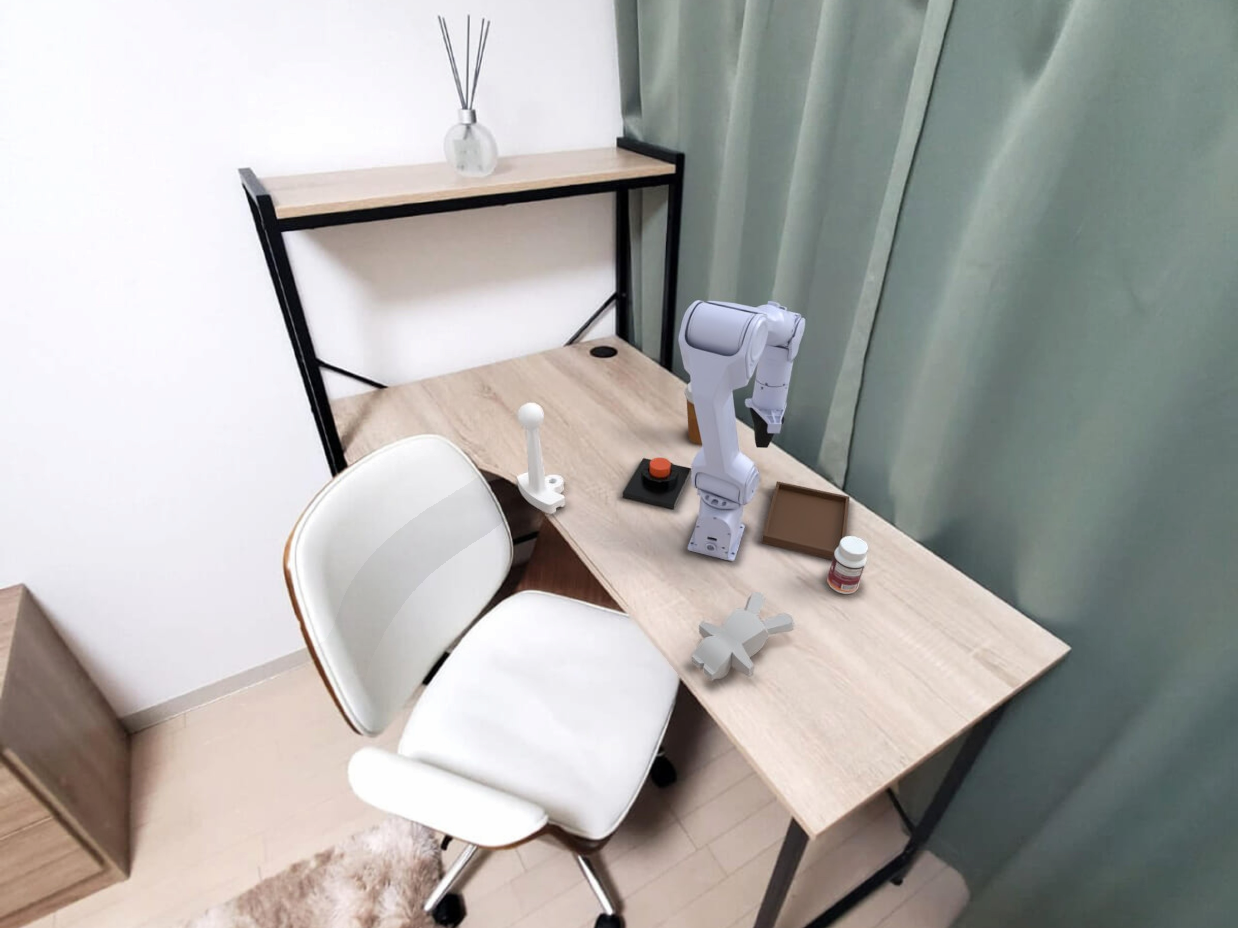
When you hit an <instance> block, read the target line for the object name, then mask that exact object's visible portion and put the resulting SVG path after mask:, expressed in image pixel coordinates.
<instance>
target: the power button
mask: <svg viewBox="0 0 1238 928" xmlns="http://www.w3.org/2000/svg"><path fill="white" fill-rule="evenodd" d="M650 460H651V461H650V468H649V472H650V474H651V475H652V476H654V477H659V478H661V477H667V476H668V475H669V474H670V469H671V463H672V462H671V461H670V459H668V458H666V457H654V458H652V459H650ZM670 462H671V463H670Z"/></svg>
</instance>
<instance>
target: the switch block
mask: <svg viewBox="0 0 1238 928" xmlns="http://www.w3.org/2000/svg"><path fill="white" fill-rule="evenodd" d="M651 460H652V459H650V458H646V457H643V458H642V459H641V461H640V462H639V464H638V466H637V467H636V469H635V471H634V473H633V475H632V476H631V478H630V479H629V481H628V482H627V484H626V486H625V487H624V489H623V490H622V499H626V500H630V501H635V502H639V503H642V504H648V505H652V506H655V507H660V508H664V509H668V510H671V511H672V510H673V511H675V509H676V507H677V505H678V502H679V501H680V498H681V496H682V494H683V492H684V489H685V488H686V485H687V483H688V481H689V478H691V473H692V467H688V466H683V465H678V464H674V463H672V462H671V461H670V463H671V469H670V474H669V475H668V476H667V477H661V478H659V477H654V476H652V475H651V474H650V472H649V468H650V461H651Z"/></svg>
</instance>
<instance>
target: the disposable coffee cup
mask: <svg viewBox="0 0 1238 928" xmlns="http://www.w3.org/2000/svg"><path fill="white" fill-rule="evenodd" d="M683 392H684V396H685V399H686V413H687V430H688V431H687V432H688V439H689V440H690V441H691V442H693V443H694V444H698V445H702V441H701V436H700V431H699V426H698V422H697V417H696V412H695V407H694V403H693V398H692V392H691V381H690V382H688V384H687V385H686V387H685V389H684V391H683Z"/></svg>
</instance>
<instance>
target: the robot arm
mask: <svg viewBox="0 0 1238 928" xmlns="http://www.w3.org/2000/svg"><path fill="white" fill-rule="evenodd" d="M805 328H806V318H804V317H802V314H801V313H798V312H793V311H789V310H788V307H787V306H782V305H781V304H780V303H779V302H776V301H771V300H768V301H767V304H762V305H758V306H757V307H754V306H750V305H745V304H740V303H736V302H728V301H720V300H719V301H718V300H707V301H706V302H705V301H704V300H700V299H698V300H695V301H694V302H692V303H691V305H689V306H688V307H687V309H686V311H685V312H684V315H683V317H682V321H681V325H680V329H679V333H678V345H679V350H680V354H681V359H682V364H683V369H684V370H685V371H686V373H687V374H688V375H689V377H690V382H691V392H692V398H693V403H694V407H695V412H696V417H697V422H698V426H699V431H700V436H701V441H702V444H701V445H702V446H701V447H700V448H699V450H698V451H697V453H696V454H695V455H694V458H693V460H692V462H691V467H690V468H691V474H690V482H691V486H692V487H693V488H694V489H696V495H697V496H699V506H698V515H697V516H698V517H697V520H696V521H695V522H696V523H695V527H694V530H693V532H692V535H691V538H690V539H689V542H688V544H687V550H688V551H689V552H693V553H697V554H700V555H704V556H709V557H713V558H718V559H721V560H726V561H729V562H734V561H736V560H735V559H736V557H737V553H738V550H739V546H740V543H741V541H742V537H743V534H744V531H745V527H746V526H745V524H744V523H742V518H743V513H744V506H746V505H748V504H750V503H751V502H752V500H753V499H754V497H755V494H756V492H757V490H758V487H759V483H760V479H761V474H760V472H759V469H758V467H756V462H755V461H754V460H752V459H751V458H750V457H748V456H747V455H745V453H743V452H742V451H741V450H740V444H739V434H738V427H737V418H736V411H735V410H736V409H735V402H734V393H733V391H735V390H738V389H741V388H745V387H747V386H748V385H749V382H750V380H751V378H752V377H753V375H754V373H755V379H754V384H753V390H752V391H753V392H752V397H749V398H745V399H744V404H745V407H746V408H749V412H750V416H751V420H752V422H753V433H754V434H753V435H754V443H755V447H756V448H758V449H759V448H763V449H767V448H769V447H770V444H771V442H772V440H773V437H774V435H775V434H781V429H782V426H783V424H784V423H785V416H784V415H785V411H786V409H787V404H788V403H787V398H788V392H789V387H790V382H791V377H792V371H793V366H794V361H795V358H796V356H797V355H798V352H799V349H800V344H801V341H802V338H803V336H804V332H805ZM755 370H756V371H755Z"/></svg>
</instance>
